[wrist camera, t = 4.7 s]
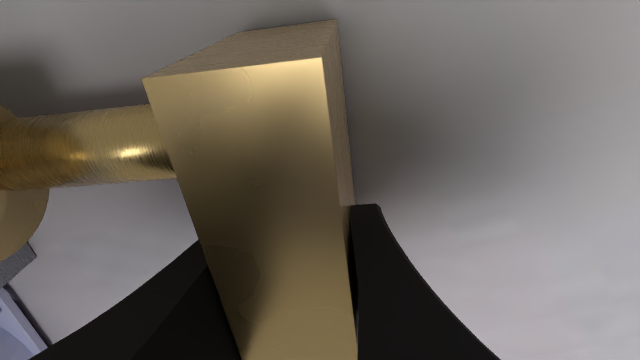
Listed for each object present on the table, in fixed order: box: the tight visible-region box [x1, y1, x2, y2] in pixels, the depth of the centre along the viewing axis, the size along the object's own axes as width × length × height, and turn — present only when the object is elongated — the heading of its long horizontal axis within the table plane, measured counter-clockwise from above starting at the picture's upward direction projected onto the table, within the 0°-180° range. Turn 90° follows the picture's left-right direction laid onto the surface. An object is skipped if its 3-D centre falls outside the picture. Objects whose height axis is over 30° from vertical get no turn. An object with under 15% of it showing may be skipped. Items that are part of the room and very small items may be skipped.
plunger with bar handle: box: [0, 19, 358, 360], centre depth 9 cm, size 7×15×5 cm, turn 98°
